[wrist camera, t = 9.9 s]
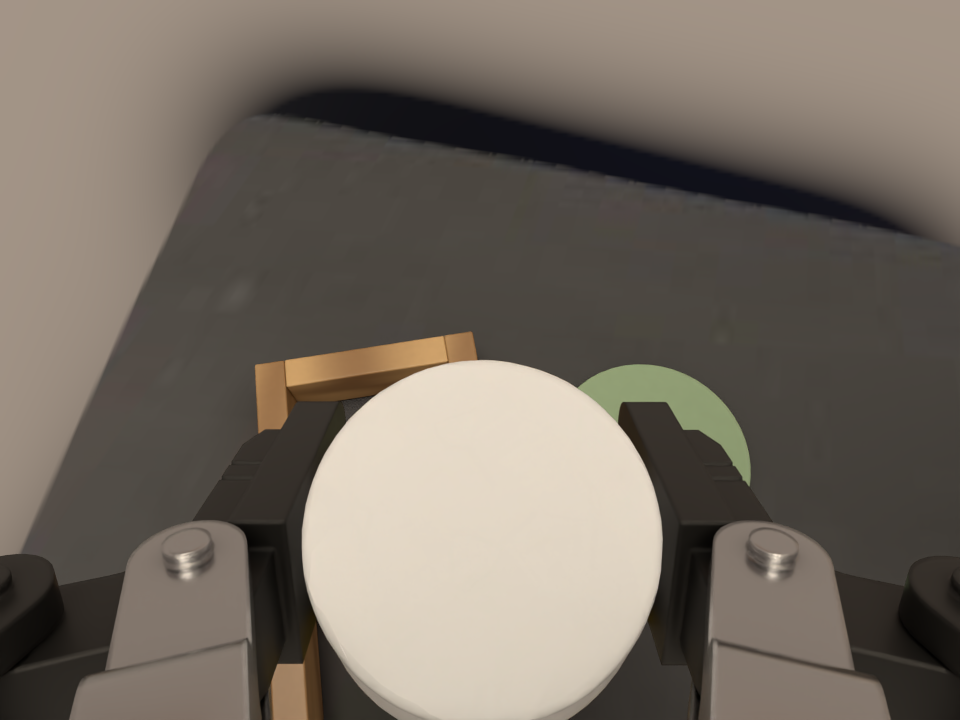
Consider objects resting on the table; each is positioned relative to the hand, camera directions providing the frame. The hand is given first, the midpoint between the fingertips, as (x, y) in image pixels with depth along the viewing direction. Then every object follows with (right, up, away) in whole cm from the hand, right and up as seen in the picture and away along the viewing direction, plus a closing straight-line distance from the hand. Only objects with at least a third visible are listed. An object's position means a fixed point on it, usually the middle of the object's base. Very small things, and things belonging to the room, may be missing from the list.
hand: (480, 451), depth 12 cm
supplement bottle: (0, -4, +4) cm, 5 cm away
